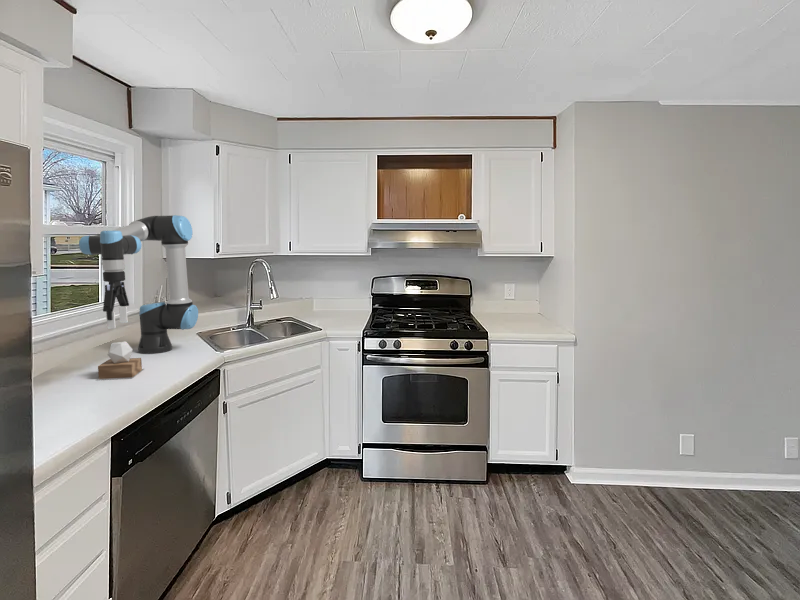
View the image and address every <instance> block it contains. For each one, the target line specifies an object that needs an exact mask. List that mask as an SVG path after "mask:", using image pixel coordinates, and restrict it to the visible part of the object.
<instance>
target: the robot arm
mask: <svg viewBox="0 0 800 600" xmlns="http://www.w3.org/2000/svg"><path fill="white" fill-rule="evenodd" d="M192 238H193V227H192V223H191V222H190V220H189V219H188V218H187V217H186V216H184V215H176V214H175V215H151V216H147V217H144V218H143V217H142V218H139V219H137V220H133V221H131V222H129V224H128V225H125V226H122V227H119V228H115V229H112V230H102V231H101V230H100V233H99V234H95V235H90V234H89V235H83V236H82V237H81V238H80V239H79V241H78V245H79V251H80V252H81V253H82V254H84V255H91V256H92V255H93V256H94V255H95V256H97V255H99V256H100V255H101V262H100V265H101V266H102V271H103V272H102V280H103V281H104V282H106V283H107V282H108V284H105V285H104V299H103V308H102V312H104V313H105V316H106V317H105V318H106V328H107V329H108V330H109V329H116V327H117V326H116V313H115V311H114V308H115V303H116V300H117V302H118V305H119V306H118V314H119V316H118V317H119V323H120V324H123V323H124V324H125V323H129V322H128V307H129V306H130V302H129V299H128V295H127V292H126V288H125V287H126V286H125V282H124V281H126V272H125V271H124V270H125V267H126V265H125V259H124V258H125V257H124V255H134V254H137V253H139V252H140V251H141V249H142V246H143V245H142V242H144V241H159V242H161V246H162V247H163V248H164V249H165V256H166V257H165V258H166V273H167V283H168V285H167V286H168V296H169V299H168V300H167V301H166V302H165V301H160V302H153V303H147V304H146V303H145V304H143V305H141V306H140V307H139V312H138V313H139V314H138V315H139V324H140V338H139V341H138V345H137V353H140V354H159V353H166V352H169V351H172V350H173V346H172V342H171V339H170V337H169V335H168V330H182V331H184V330H191V329H193V328H194V327H195V325H196V324H197V321H198V320H199V319H198V318H199V308H198V307H197V305H196V304H193V302H194V301H193V300H192V299H191V298H190V297H189V295H190V294H189V284H188V281H189V280H188V270H187V257H186V256H187V255H186V247H187V246H188V245H189V241H191V240H192Z"/></svg>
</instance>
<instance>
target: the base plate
mask: <svg viewBox="0 0 800 600" xmlns="http://www.w3.org/2000/svg"><path fill="white" fill-rule="evenodd" d="M142 371H145V368H142V370H141V371H140V372H139V373H137V374H136V375H135V376H134V377H132V378H110V379H99V377H98V378H97V379H95V381H97V382H98V381H112V380H114V381H117V380H132V379H134V378H135V377H136V376H138V375H139V374H140V373H142Z"/></svg>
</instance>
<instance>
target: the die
mask: <svg viewBox="0 0 800 600" xmlns="http://www.w3.org/2000/svg"><path fill="white" fill-rule="evenodd" d="M133 350H134V349H133V348H132V346H131V345H130V343H128V342H127V341H118V342H111V345H110V347H109V350H108V353H107V357H109V359H111V360H112V361H113V362H114V363H122V362H129V359H130V358H131V356H132V353H133Z"/></svg>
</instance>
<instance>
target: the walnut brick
mask: <svg viewBox="0 0 800 600" xmlns="http://www.w3.org/2000/svg"><path fill="white" fill-rule="evenodd" d="M142 369H143V365H142V357H136V358H134V357H133V358H132V357H130V359H129V362H122V363H114V362H113V361H112V360H111V359H110V358H109V359H108V360H106V361H104V362H102V363H101V364H99V365H97V371H98V375H97V376H98V378H99V379H110V378H132V377H134V376H135V375H136V374H137V373H139V372H140V371H141V370H142ZM141 372H142V371H141ZM141 372H140V373H141ZM140 373H139V374H140ZM136 376H137V375H136ZM136 376H135V377H136ZM135 377H134V378H135ZM132 379H133V378H132Z"/></svg>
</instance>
